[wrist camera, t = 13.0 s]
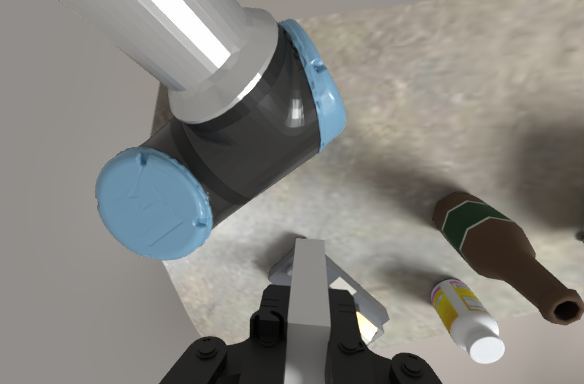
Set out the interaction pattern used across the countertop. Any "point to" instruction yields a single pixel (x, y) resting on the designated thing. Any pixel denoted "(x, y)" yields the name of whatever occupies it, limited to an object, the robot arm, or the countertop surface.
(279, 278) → the switch panel
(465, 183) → the countertop surface
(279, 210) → the countertop surface
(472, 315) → the supplement bottle
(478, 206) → the beer bottle
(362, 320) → the paddle lever
